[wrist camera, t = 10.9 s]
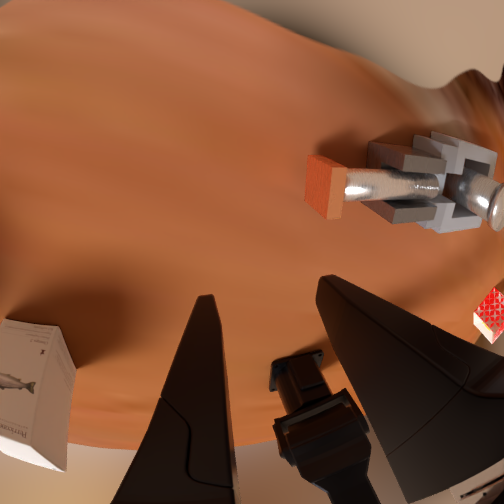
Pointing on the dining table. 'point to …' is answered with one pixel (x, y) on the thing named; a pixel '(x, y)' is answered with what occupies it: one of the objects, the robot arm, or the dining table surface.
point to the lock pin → (361, 185)
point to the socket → (455, 153)
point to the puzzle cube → (491, 315)
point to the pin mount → (409, 162)
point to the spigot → (477, 195)
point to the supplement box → (35, 393)
